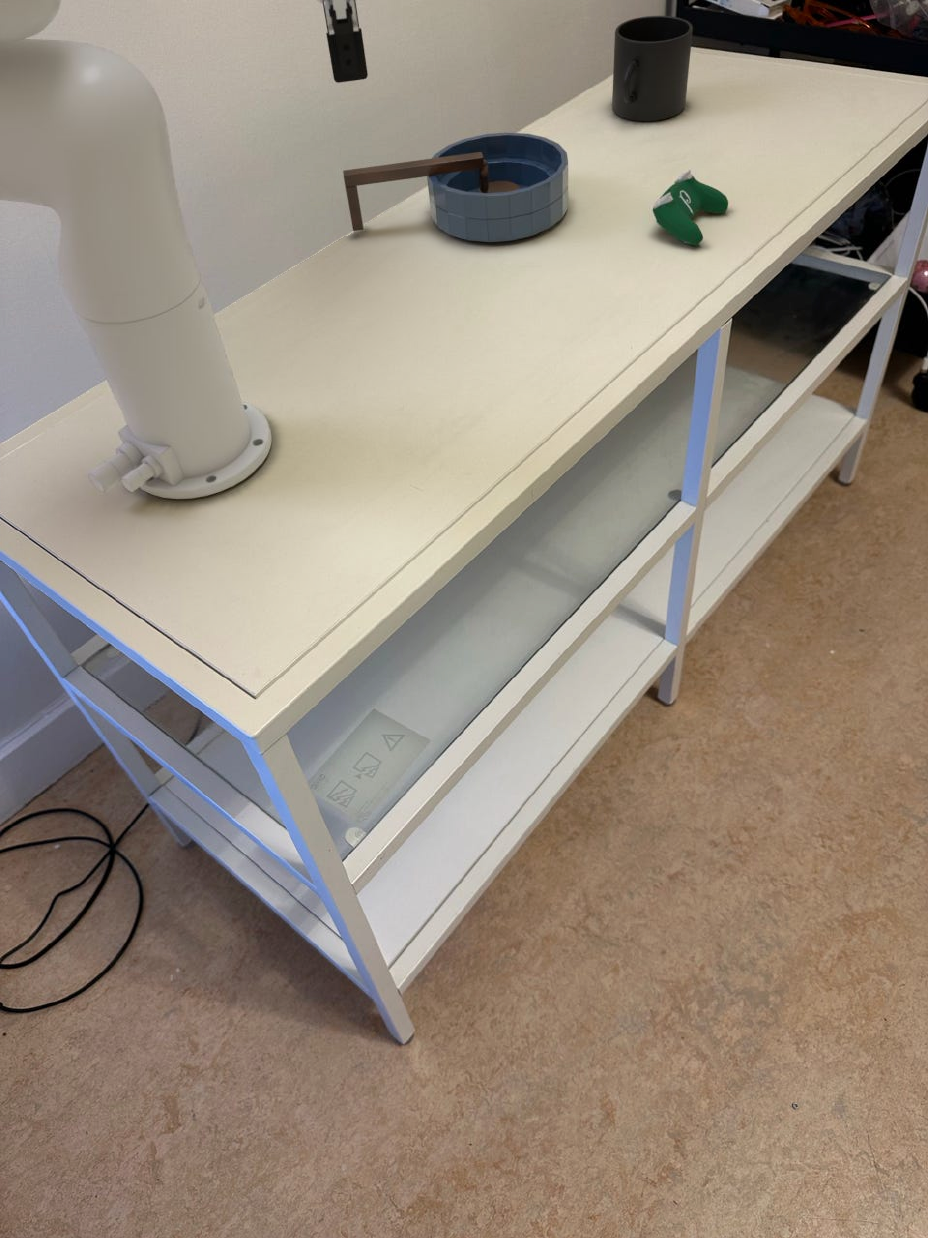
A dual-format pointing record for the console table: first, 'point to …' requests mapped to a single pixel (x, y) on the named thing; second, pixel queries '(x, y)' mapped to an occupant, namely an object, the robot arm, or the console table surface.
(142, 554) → the console table surface
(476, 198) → the bowl
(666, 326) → the console table surface
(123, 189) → the robot arm
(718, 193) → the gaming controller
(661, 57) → the mug
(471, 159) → the brown long handled part
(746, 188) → the console table surface
